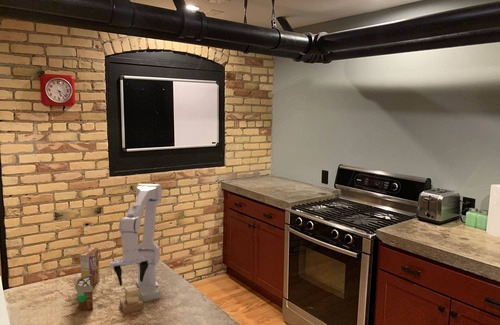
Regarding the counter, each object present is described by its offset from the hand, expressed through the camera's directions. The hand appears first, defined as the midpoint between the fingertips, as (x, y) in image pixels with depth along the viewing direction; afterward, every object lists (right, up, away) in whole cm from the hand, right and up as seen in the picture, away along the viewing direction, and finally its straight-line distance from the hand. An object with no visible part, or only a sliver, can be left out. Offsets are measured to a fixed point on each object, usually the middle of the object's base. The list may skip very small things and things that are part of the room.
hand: (131, 282), depth 143 cm
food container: (-19, -10, +2) cm, 21 cm away
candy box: (-23, -7, +19) cm, 31 cm away
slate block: (+4, -9, +10) cm, 14 cm away
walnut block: (0, -10, +1) cm, 10 cm away
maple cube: (0, -7, +1) cm, 7 cm away
